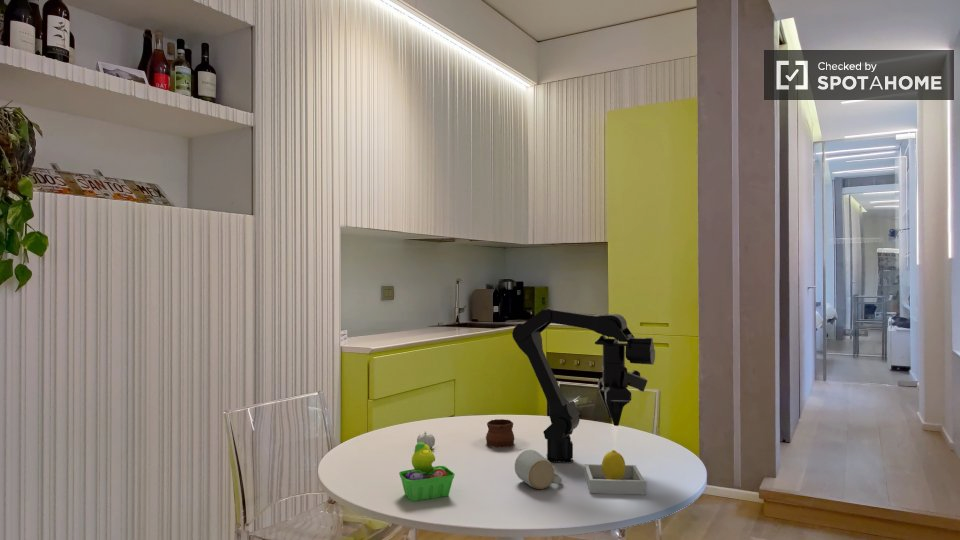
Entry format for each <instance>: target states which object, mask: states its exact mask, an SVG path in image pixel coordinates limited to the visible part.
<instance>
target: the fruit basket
mask: <svg viewBox="0 0 960 540" xmlns="http://www.w3.org/2000/svg"><path fill="white" fill-rule="evenodd" d="M411 456H412V457H411V465H412V467H413V468H412V469H408V470H407V469H406V470H401V471H399V473H398V474H399V477H400V480H401V483H402V487H403V491H404V494H405V496H406V497H407V499H409V500H410V501H411V502H416V501H419V500H420V501H421V500H428V499H437V498H440V497H448V496H449V495H450V491H451V488H452V485H453V479H454V477H455V473H454V472H453V471H452V470H451V469H449V467H447V466H445V465H436V466H433V463H434V462H435V461H436V456H435V454H434V452H433V451H432V450H431V448H429V446H428V445H426V444H425V443H423V442H421V443H417V442H416V444H415V446H414V452H413V454H412V455H411Z"/></svg>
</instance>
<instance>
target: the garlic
mask: <svg viewBox="0 0 960 540" xmlns="http://www.w3.org/2000/svg"><path fill="white" fill-rule="evenodd" d="M421 442H423V443H425V444H426V445H428V446H429V448H430V449H432V448H433V447H434V446H435V445H436V438H435V436H434V434H433V433H431V432H427V431H426V430H424V432H422V433H419V434H418V436H417V438H416V444H417V443H421Z"/></svg>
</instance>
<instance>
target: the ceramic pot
mask: <svg viewBox="0 0 960 540" xmlns="http://www.w3.org/2000/svg"><path fill="white" fill-rule="evenodd" d="M486 426H487V428H488V429H487V433H486V434H485V440H486V445H487V446H489V447H490V448H509V447H511V446H513V444H514V443H515V434H514V432H513V427H514V422H513V421H512V420H510V419H503V418H499V419H497V418H496V419H490V420H489V421H488V422H486ZM522 450H523V449H519V450H517V451H522Z"/></svg>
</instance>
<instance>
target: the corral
mask: <svg viewBox="0 0 960 540" xmlns="http://www.w3.org/2000/svg"><path fill="white" fill-rule="evenodd" d="M584 478H585V481H586V485H587V488H588V491H589V494H607V495H608V494H610V495H644V496H645V495H646V480H645V479H644V477H643V476H642V474H641V472H640V470H639V468H638V467H637V465H636V464H625V474H624V476H623V478H622V479H620V480H610V479H607V478H606V477H605V476H604V474H603V471H602V463H601V464H599V463H584ZM598 478H599V479H598ZM602 478H603V479H602Z"/></svg>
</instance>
